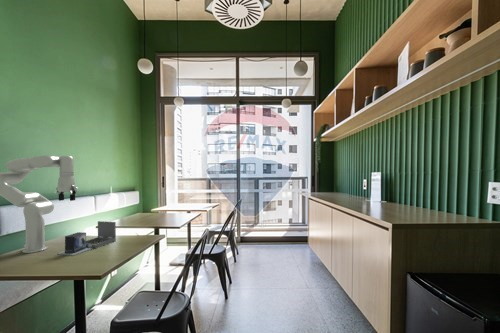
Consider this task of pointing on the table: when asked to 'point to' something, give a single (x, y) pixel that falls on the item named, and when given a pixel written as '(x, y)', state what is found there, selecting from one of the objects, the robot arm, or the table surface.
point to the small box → (75, 242)
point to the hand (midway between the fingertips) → (67, 200)
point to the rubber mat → (75, 252)
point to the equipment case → (103, 234)
